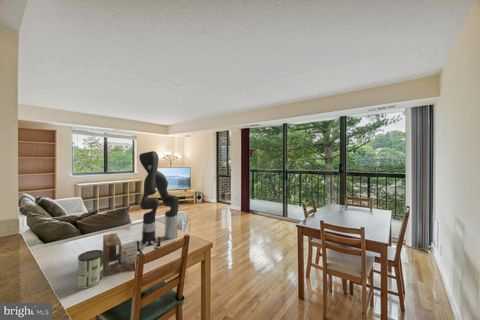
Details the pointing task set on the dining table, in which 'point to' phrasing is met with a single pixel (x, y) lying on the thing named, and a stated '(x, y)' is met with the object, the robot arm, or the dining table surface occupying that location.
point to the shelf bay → (113, 255)
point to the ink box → (127, 252)
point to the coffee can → (90, 268)
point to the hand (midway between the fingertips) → (148, 255)
